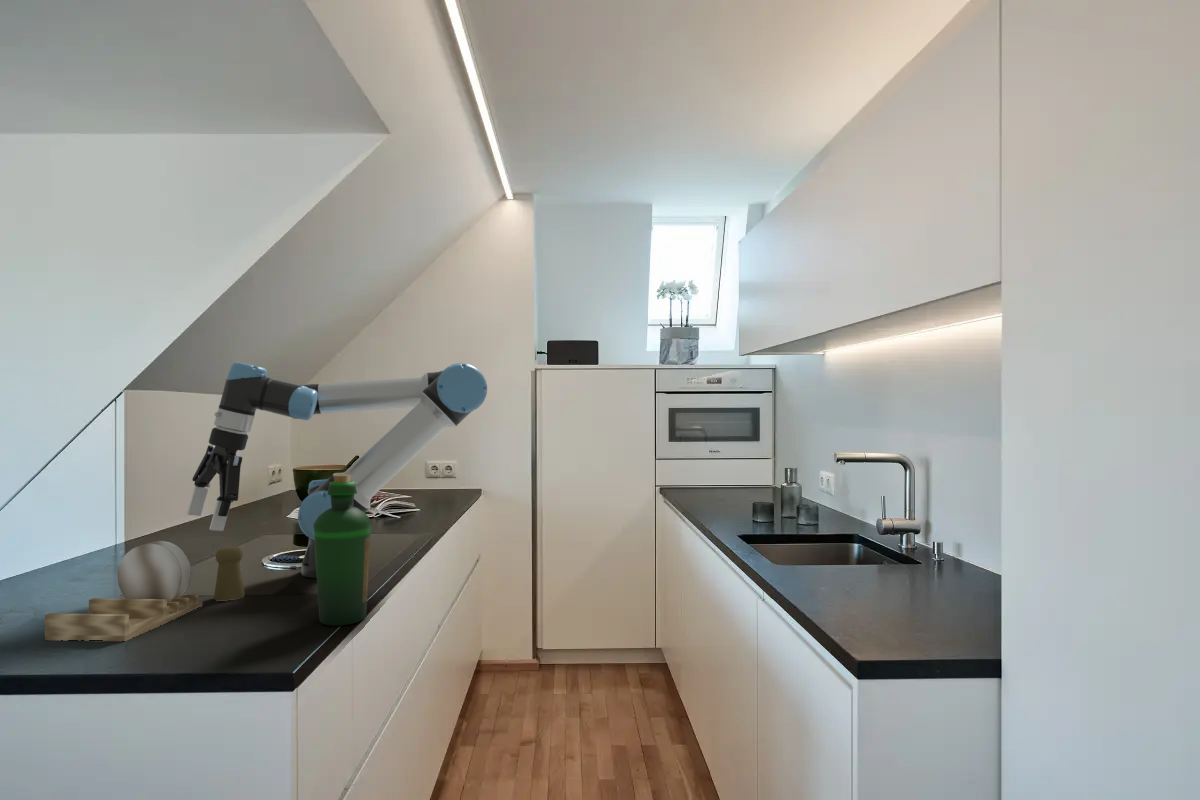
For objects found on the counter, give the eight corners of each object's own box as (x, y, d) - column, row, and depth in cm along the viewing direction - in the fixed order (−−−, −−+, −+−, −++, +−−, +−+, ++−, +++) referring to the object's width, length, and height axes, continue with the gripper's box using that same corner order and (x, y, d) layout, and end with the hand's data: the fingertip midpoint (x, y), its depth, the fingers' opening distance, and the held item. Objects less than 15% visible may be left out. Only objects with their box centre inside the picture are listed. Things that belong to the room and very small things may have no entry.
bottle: (383, 615, 142) (382, 473, 142) (347, 631, 132) (346, 478, 132) (338, 610, 145) (338, 472, 145) (300, 626, 135) (299, 477, 135)
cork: (221, 594, 158) (220, 544, 158) (249, 593, 159) (249, 544, 159) (208, 602, 152) (208, 550, 152) (238, 601, 153) (237, 549, 153)
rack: (202, 606, 149) (202, 539, 149) (124, 641, 127) (124, 562, 127) (133, 605, 150) (133, 538, 150) (44, 640, 128) (44, 561, 128)
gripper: (193, 418, 167) (167, 507, 166) (236, 436, 151) (207, 535, 149) (226, 424, 173) (201, 510, 171) (271, 442, 156) (244, 538, 155)
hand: (204, 522), depth 160 cm, fingers open, 13 cm apart
